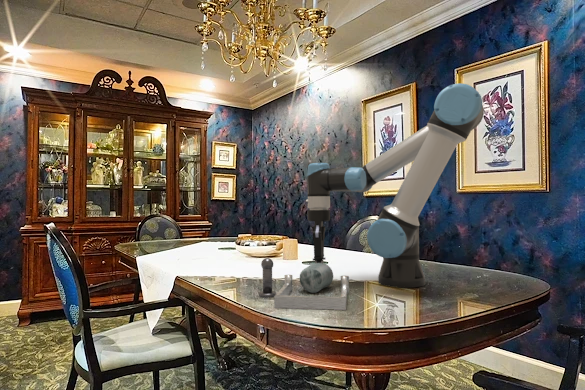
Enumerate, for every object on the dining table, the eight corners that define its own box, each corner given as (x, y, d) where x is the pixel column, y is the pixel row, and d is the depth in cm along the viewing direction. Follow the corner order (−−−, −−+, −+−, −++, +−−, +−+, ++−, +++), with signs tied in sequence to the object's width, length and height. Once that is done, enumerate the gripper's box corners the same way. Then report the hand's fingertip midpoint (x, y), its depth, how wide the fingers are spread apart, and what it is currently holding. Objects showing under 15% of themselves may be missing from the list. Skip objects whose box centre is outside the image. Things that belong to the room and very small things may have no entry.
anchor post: (277, 293, 119) (277, 257, 119) (274, 297, 114) (273, 259, 114) (261, 293, 120) (261, 256, 120) (257, 297, 115) (257, 259, 115)
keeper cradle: (349, 292, 120) (348, 275, 120) (348, 310, 100) (347, 290, 100) (285, 290, 123) (285, 274, 123) (272, 307, 103) (271, 288, 103)
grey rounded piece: (323, 285, 114) (313, 253, 119) (297, 297, 118) (288, 266, 122) (344, 288, 125) (334, 259, 129) (320, 299, 129) (311, 271, 133)
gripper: (310, 208, 140) (310, 275, 139) (304, 209, 127) (305, 283, 127) (331, 208, 139) (332, 276, 138) (328, 209, 126) (328, 284, 125)
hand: (319, 279), depth 132 cm, fingers closed
